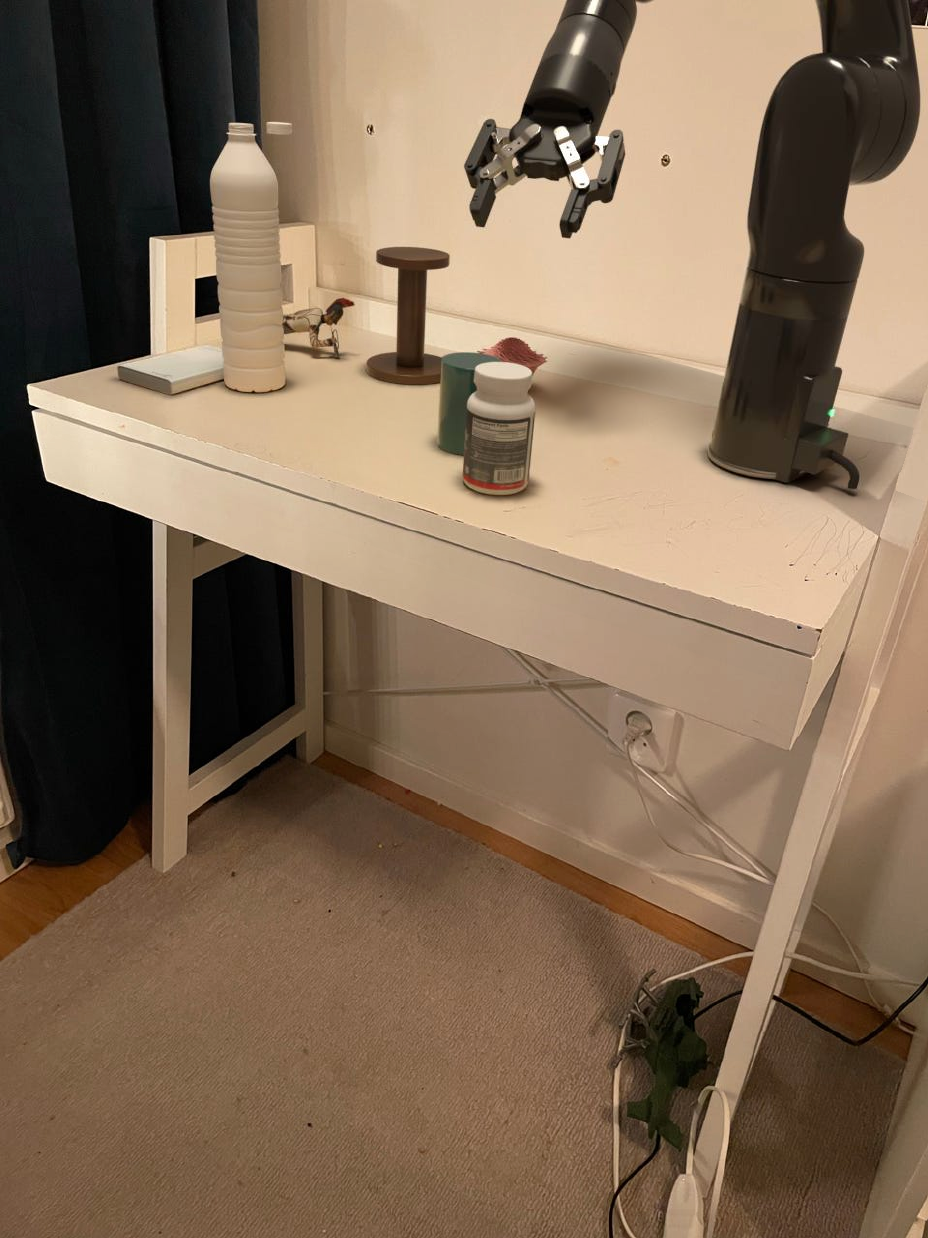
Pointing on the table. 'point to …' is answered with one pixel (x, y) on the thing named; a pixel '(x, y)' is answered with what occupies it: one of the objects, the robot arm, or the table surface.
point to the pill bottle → (499, 429)
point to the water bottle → (249, 261)
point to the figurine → (316, 322)
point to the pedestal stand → (409, 318)
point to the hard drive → (176, 370)
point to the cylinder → (456, 397)
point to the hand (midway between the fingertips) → (520, 226)
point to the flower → (516, 353)
